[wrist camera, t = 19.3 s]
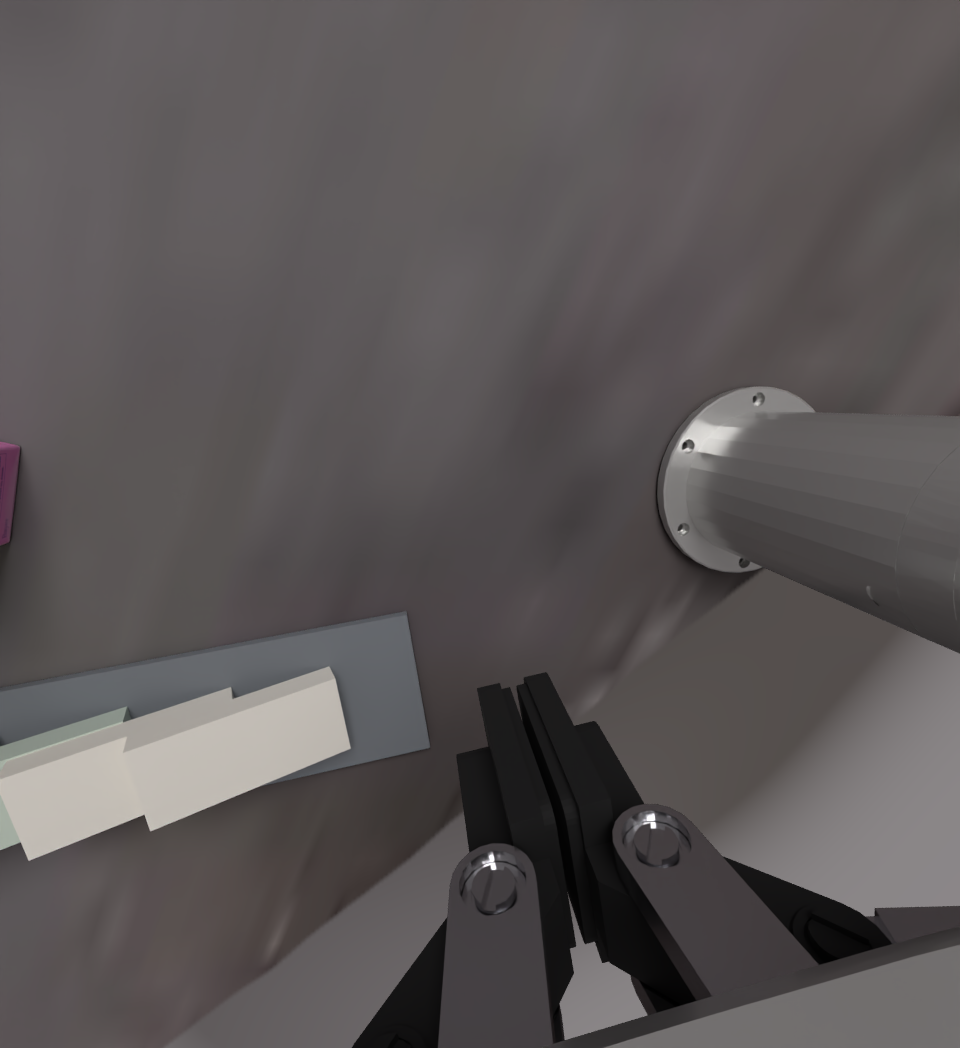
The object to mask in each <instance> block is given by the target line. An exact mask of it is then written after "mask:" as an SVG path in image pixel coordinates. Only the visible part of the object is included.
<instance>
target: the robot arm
mask: <svg viewBox="0 0 960 1048" xmlns="http://www.w3.org/2000/svg"><path fill="white" fill-rule="evenodd" d="M683 444H684V445H683ZM682 445H683V447H682ZM657 499H658V506H659V513H660V516H661V519H662V522H663V525H664V528H665V530H666V532H667V533H668V535H669V537H670V539H671V540H672V542H673V543H674V544H675V545H676V546H677V547H678V548H679V550H680V551H681V552H682V553H683V554H685V555H686V556H688V557H689V558H691V559H692V560H694V561H695V562H697V563H699V564H701V565H703V566H706V567H708V568H710V569H714V570H717V571H721V572H731V573H741V572H747V571H754V570H757V569H760V568H763V567H764V568H766V569H768V570H771V571H773V572H776V573H777V574H780V575H782V576H784V577H787V578H789V579H791V580H793V581H796V582H798V583H800V584H802V585H805V586H807V587H809V588H811V589H814V590H816V591H818V592H821V593H823V594H825V595H827V596H830V597H832V598H834V599H836V600H839V601H841V602H843V603H846V604H848V605H850V606H852V607H855V608H857V609H859V610H861V611H864V612H866V613H868V614H871V615H873V616H875V617H877V618H880V619H882V620H884V621H886V622H889V623H891V624H893V625H896V626H898V627H900V628H902V629H905V630H907V631H909V632H912V633H914V634H916V635H918V636H920V637H923V638H925V639H927V640H930V641H932V642H935V643H937V644H939V645H941V646H944V647H946V648H949V649H951V650H953V651H955V652H958V653H960V416H925V415H889V414H852V413H816V412H815V411H814V409H813V408H812V407H811V406H810V405H808V404H807V403H806V402H805V401H804V400H803V399H801V398H800V397H798V396H796V395H794V394H792V393H790V392H788V391H786V390H782V389H778V388H774V387H745V388H737V389H734V390H731V391H727V392H724V393H721V394H719V395H717V396H716V397H714V398H712V399H710V400H708V401H706V402H705V403H704V404H702V405H701V406H700V407H699V408H697V409H696V410H695V411H694V412H693V413H691V414H690V416H689V417H688V418H687V419H686V420H685V421H684V422H683V424H682V425H681V426H680V427H679V428H678V430H677V432H676V433H675V435H674V436H673V438H672V440H671V441H670V443H669V445H668V447H667V450H666V452H665V455H664V457H663V460H662V463H661V468H660V472H659V477H658V489H657ZM678 526H679V528H678ZM477 690H478V696H479V701H480V706H481V711H482V716H483V721H484V726H485V731H486V736H487V741H488V746H489V747H485V748H481V749H477V750H473V751H469V752H465V753H460V754H457V764H458V772H459V779H460V786H461V794H462V801H463V808H464V816H465V823H466V830H467V838H468V845H469V853H468V854H467V855H466V856H465V857H464V858H463V859H462V860H461V861H460V862H459V864H458V865H457V867H456V869H455V871H454V873H453V875H452V879H451V883H450V890H449V903H448V917H447V918H446V920H445V921H444V922H443V924H442V925H441V926H440V928H439V929H438V930H437V932H436V933H435V935H434V936H433V937H432V939H431V940H430V941H429V943H428V944H427V945H426V947H425V948H424V950H423V951H422V952H421V954H420V955H419V956H418V958H417V959H416V961H415V962H414V963H413V964H412V966H411V968H410V969H409V970H408V971H407V973H406V974H405V975H404V977H403V978H402V980H401V981H400V982H399V984H398V985H397V986H396V988H395V989H394V990H393V992H392V993H391V995H390V996H389V997H388V999H387V1000H386V1001H385V1003H384V1004H383V1005H382V1007H381V1008H380V1010H379V1011H378V1012H377V1014H376V1015H375V1016H374V1018H373V1019H372V1021H371V1022H370V1023H369V1024H368V1026H367V1027H366V1028H365V1030H364V1031H363V1033H362V1034H361V1035H360V1037H359V1038H358V1039H357V1041H356V1042H355V1043H354V1045H353V1047H352V1048H960V906H946V907H945V906H943V907H905V908H875V916H873V917H871V916H870V917H865V916H863V915H862V914H861V913H860V912H858V911H856V910H854V909H852V908H850V907H848V906H846V905H844V904H842V903H840V902H837V901H835V900H832V899H830V898H827V897H824V896H822V895H819V894H817V893H814V892H812V891H809V890H806V889H804V888H801V887H799V886H797V885H794V884H792V883H789V882H786V881H784V880H781V879H779V878H776V877H774V876H771V875H769V874H766V873H764V872H761V871H759V870H756V869H754V868H751V867H748V866H746V865H743V864H741V863H738V862H736V861H733V860H731V859H728V858H725V857H723V856H722V855H721V854H720V853H719V852H718V851H717V850H716V849H715V848H714V847H713V845H712V844H711V843H710V842H709V841H708V840H707V839H706V837H704V835H703V834H702V833H701V832H700V831H699V830H698V828H697V827H696V826H695V825H694V824H693V823H692V822H691V821H690V820H689V819H688V818H686V817H685V816H684V815H683V814H682V813H680V812H678V811H676V810H674V809H672V808H670V807H666V806H662V805H658V804H644V803H643V801H642V799H641V797H640V796H639V794H638V792H637V791H636V789H635V788H634V785H633V784H632V782H631V780H630V779H629V777H628V775H627V773H626V772H625V770H624V768H623V767H622V765H621V763H620V761H619V760H618V758H617V756H616V755H615V753H614V751H613V749H612V748H611V746H610V744H609V743H608V741H607V739H606V738H605V736H604V734H603V732H602V731H601V729H600V727H599V726H598V724H597V723H596V722H595V721H592V722H588V723H584V724H580V725H576V726H574V725H573V723H572V721H571V719H570V717H569V715H568V713H567V711H566V709H565V707H564V705H563V703H562V701H561V699H560V697H559V695H558V693H557V691H556V689H555V687H554V686H553V684H552V682H551V680H550V678H549V676H548V674H547V673H546V672H545V673H541V674H536V675H532V676H528V677H524V684H522V685H517V693H518V699H519V705H520V710H521V716H522V720H521V717H520V714H519V712H518V709H517V706H516V703H515V700H514V697H513V695H512V692H511V689H510V687H509V688H504V689H501V686H500V683H498V684H493V685H489V686H485V687H481V688H477ZM522 722H523V723H522ZM567 892H568V893H567ZM568 895H569V898H570V901H571V904H572V907H573V910H574V913H575V917H576V919H577V923H578V926H579V929H580V932H581V935H582V938H583V941H584V943H585V944H587V943H591V942H595V943H596V946H597V949H598V952H599V955H600V958H601V961H602V963H605V962H608V961H609V962H610V963H611V964H613V965H615V966H616V967H618V968H619V969H621V970H623V971H625V972H626V973H628V974H630V975H631V981H632V984H633V986H634V989H635V991H636V994H637V996H638V998H639V1000H640V1001H641V1003H642V1005H643V1007H644V1009H645V1011H646V1012H647V1015H648V1016H645V1017H641V1018H638V1019H635V1020H631V1021H628V1022H625V1023H621V1024H618V1025H615V1026H611V1027H608V1028H605V1029H601V1030H598V1031H595V1032H591V1033H588V1034H585V1035H581V1036H578V1037H575V1038H571V1039H568V1040H564V1030H563V1022H562V1014H561V1009H560V1004H559V1003H560V1001H561V999H562V997H563V995H564V993H565V990H566V988H567V986H568V984H569V982H570V980H571V978H572V976H573V974H574V971H573V965H572V959H571V953H570V948H573V947H576V942H575V936H574V930H573V923H572V917H571V911H570V905H569V899H568Z"/></svg>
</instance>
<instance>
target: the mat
mask: <svg viewBox="0 0 960 1048" xmlns="http://www.w3.org/2000/svg"><path fill="white" fill-rule="evenodd" d="M328 666H329V667H330V669H331V671H332V673H333V675H334V677H335V679H336V684H337V688H338V693H339V697H340V702H341V707H342V711H343V716H344V720H345V725H346V729H347V734H348V738H349V743H350V747H351V749H348V750H346V751H344V752H341V753H339V754H336V755H334V756H332V757H329V758H327V759H324V760H322V761H319V762H317V763H315V764H312V765H310V766H307V767H305V768H303V769H300V770H298V771H295V772H293V773H290V774H288V775H286V776H283V777H281V778H278V779H276V780H274V781H271V782H269V783H266V784H264V785H269V784H273V783H277V782H282V781H286V780H291V779H295V778H299V777H304V776H308V775H313V774H317V773H321V772H326V771H330V770H335V769H339V768H343V767H348V766H352V765H357V764H361V763H365V762H370V761H374V760H379V759H383V758H387V757H392V756H396V755H401V754H405V753H409V752H414V751H418V750H423V749H427V748H430V743H429V737H428V731H427V725H426V720H425V714H424V708H423V703H422V697H421V691H420V686H419V680H418V674H417V669H416V663H415V657H414V651H413V646H412V640H411V634H410V629H409V623H408V617H407V612H406V611H404V612H399V613H394V614H388V615H383V616H378V617H373V618H367V619H362V620H357V621H351V622H346V623H341V624H335V625H330V626H325V627H319V628H314V629H309V630H304V631H298V632H293V633H288V634H282V635H277V636H272V637H266V638H261V639H256V640H251V641H245V642H240V643H235V644H229V645H224V646H219V647H213V648H208V649H203V650H197V651H192V652H187V653H182V654H176V655H171V656H166V657H160V658H155V659H150V660H144V661H139V662H134V663H129V664H123V665H118V666H113V667H107V668H102V669H97V670H91V671H86V672H81V673H75V674H70V675H65V676H60V677H54V678H49V679H44V680H38V681H33V682H28V683H22V684H17V685H12V686H6V687H1V688H0V746H4V745H7V744H10V743H13V742H16V741H19V740H22V739H26V738H29V737H32V736H35V735H38V734H41V733H45V732H48V731H51V730H54V729H57V728H60V727H63V726H67V725H70V724H73V723H76V722H79V721H82V720H86V719H89V718H92V717H95V716H98V715H101V714H104V713H108V712H111V711H114V710H117V709H120V708H123V707H128V710H129V713H130V716H131V719H135V718H138V717H141V716H144V715H147V714H150V713H153V712H157V711H160V710H163V709H166V708H169V707H172V706H175V705H178V704H181V703H184V702H187V701H190V700H193V699H196V698H199V697H202V696H205V695H208V694H211V693H214V692H217V691H220V690H223V689H226V688H229V687H231V688H232V692H233V696H234V698H237V697H240V696H243V695H246V694H249V693H252V692H255V691H258V690H261V689H264V688H267V687H270V686H273V685H275V684H278V683H281V682H284V681H287V680H290V679H293V678H296V677H299V676H302V675H305V674H308V673H311V672H314V671H317V670H320V669H323V668H326V667H328ZM264 785H261V786H264ZM259 787H260V786H259Z"/></svg>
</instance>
